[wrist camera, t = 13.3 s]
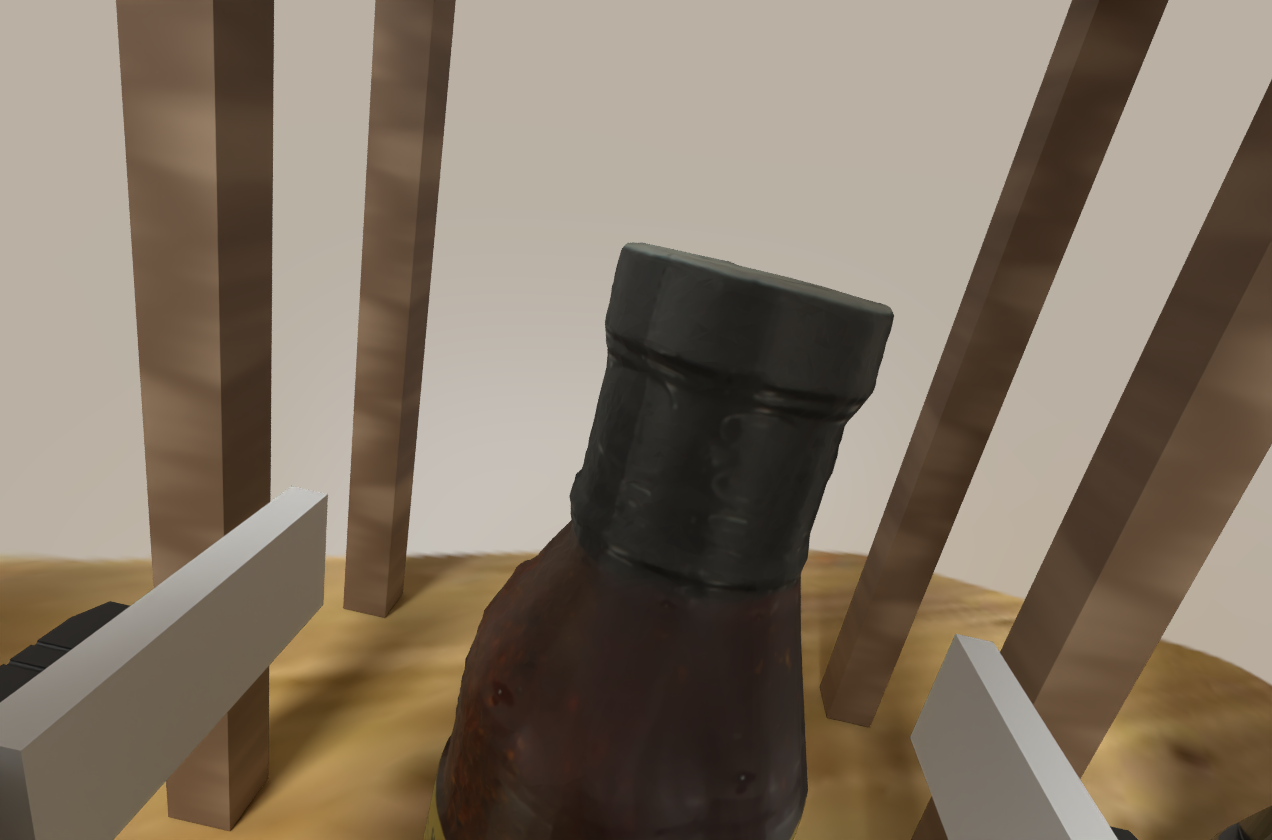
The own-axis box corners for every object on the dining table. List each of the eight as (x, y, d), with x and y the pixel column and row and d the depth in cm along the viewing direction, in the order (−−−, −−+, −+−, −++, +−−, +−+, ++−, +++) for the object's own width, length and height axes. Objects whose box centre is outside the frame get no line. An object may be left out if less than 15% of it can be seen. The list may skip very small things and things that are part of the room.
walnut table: (860, 696, 33) (1164, -73, 22) (953, 1000, 21) (1749, -393, 10) (363, 584, 33) (415, -222, 22) (168, 816, 21) (70, -707, 10)
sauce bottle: (588, 1486, 11) (1091, 372, 6) (281, 1285, 13) (429, 200, 7) (672, 1055, 18) (953, 311, 12) (459, 948, 19) (618, 226, 13)
